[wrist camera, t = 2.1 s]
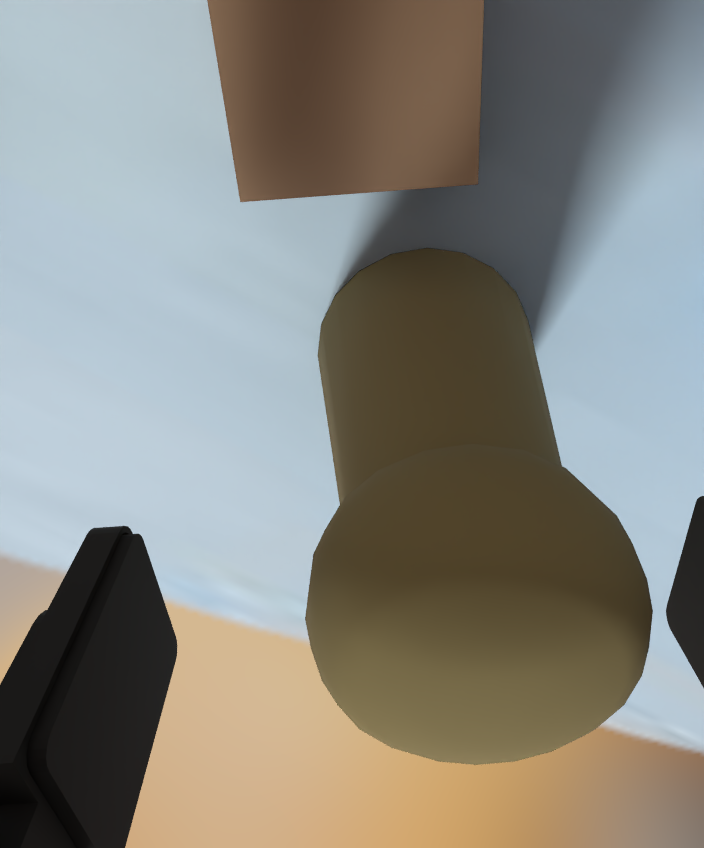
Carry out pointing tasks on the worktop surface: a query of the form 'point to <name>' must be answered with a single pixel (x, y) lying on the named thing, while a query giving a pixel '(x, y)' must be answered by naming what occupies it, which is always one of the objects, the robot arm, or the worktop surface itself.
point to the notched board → (350, 94)
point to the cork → (461, 529)
